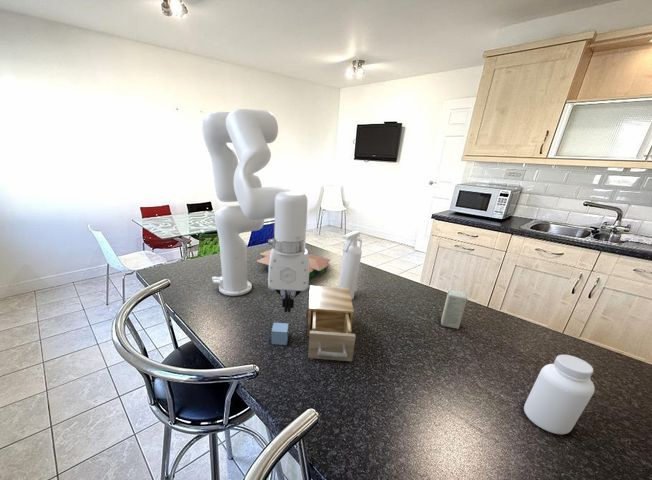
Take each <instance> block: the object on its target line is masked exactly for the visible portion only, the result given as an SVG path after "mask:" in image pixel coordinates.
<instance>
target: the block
mask: <svg viewBox="0 0 652 480" xmlns="http://www.w3.org/2000/svg"><path fill="white" fill-rule="evenodd" d="M289 325H290V324H289V323H285V322H273V323H272V328H271V345H279V346H288V341H289Z"/></svg>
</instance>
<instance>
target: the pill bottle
mask: <svg viewBox="0 0 652 480" xmlns="http://www.w3.org/2000/svg"><path fill="white" fill-rule="evenodd" d="M593 373H594V368H593V366H592V365H591V364H590V363H589V362H587V361H585V360H583V359H581V358H580V357H577V356H574V355H569V354H558V355H556V357H555V360H554V362H553V363H548V364H546V365H543V367H542V368H541V369H540V371H539V373H538V375H537V378H536V379H535V381H534V384H533V385H532V388H531V390H530V392H529V394H528V396H527V398H526V401H525V403H524V406H523V411H524V414H525V416H526V417H527V418H528V420H529V421H531V422H532V423H533V424H534V425H535V426H537V427H538V428H541V429H542V430H544V431H546V432H548V433H551V434H556V435H566V434H569V433H570V432H571V431H572V430H573V429H574V427H575V425H576V424H577V422H578V420H579V418H580V417H581V416H582V414H583V412H584V410H585V409H586V407H587V406H588V404H589V402H590V400H591V399H592V396H593V395H594V394H595V384H594V382H593V380H591V377H592V376H593Z"/></svg>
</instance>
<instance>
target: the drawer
mask: <svg viewBox="0 0 652 480" xmlns="http://www.w3.org/2000/svg"><path fill="white" fill-rule="evenodd" d="M308 337H309V338H308V352H307V358H308V359H318V360H330V361H340V362H341V361H342V362H353V357H354V351H355V345H356V333H352V329H351V325H350V319H349V314H348V313H335V312H320V311H313V318H312V331H310V335H309V336H308Z"/></svg>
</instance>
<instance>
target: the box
mask: <svg viewBox="0 0 652 480" xmlns="http://www.w3.org/2000/svg"><path fill="white" fill-rule="evenodd" d="M467 301H468V294H467V292H465V291H459V290H453V289H448V290H447V293H446V298H445V303H444V305H443V310H442V313H441V318H440V325H441V326H443V327H446V328H452V329H457V330H459V329H460V326H461V323H462V318H463V316H464V312H465V308H466V305H467Z"/></svg>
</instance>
